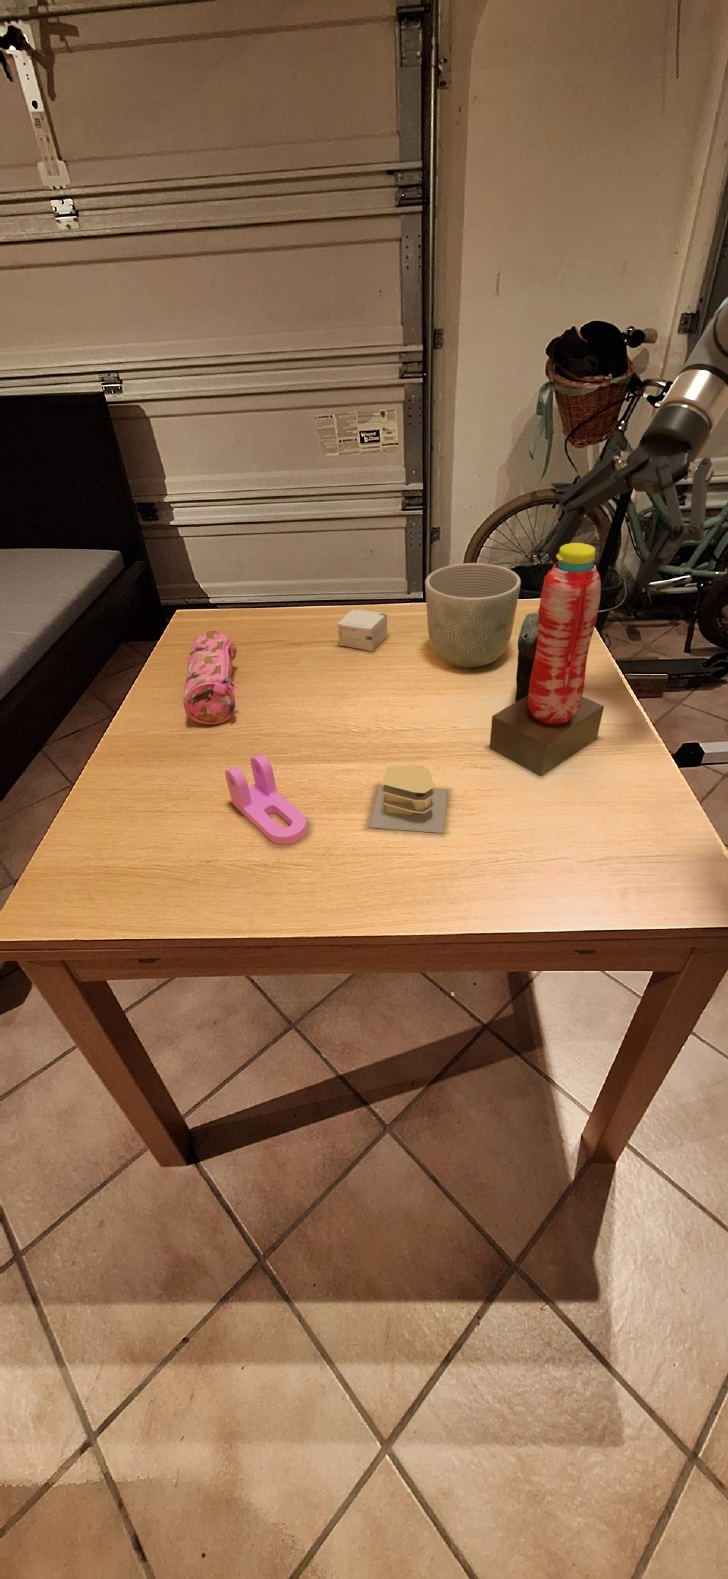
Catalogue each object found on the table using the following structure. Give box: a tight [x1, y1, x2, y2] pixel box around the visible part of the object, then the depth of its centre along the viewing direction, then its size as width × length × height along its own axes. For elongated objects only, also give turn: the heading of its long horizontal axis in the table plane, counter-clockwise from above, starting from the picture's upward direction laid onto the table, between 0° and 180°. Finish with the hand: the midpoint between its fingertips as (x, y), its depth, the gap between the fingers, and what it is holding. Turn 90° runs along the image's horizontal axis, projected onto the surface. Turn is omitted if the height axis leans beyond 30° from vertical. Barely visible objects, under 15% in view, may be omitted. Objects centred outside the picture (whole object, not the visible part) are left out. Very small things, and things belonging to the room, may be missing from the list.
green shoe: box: [514, 608, 539, 703], centre depth 105 cm, size 20×6×20 cm, turn 151°
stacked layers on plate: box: [369, 765, 448, 834], centre depth 87 cm, size 10×9×6 cm
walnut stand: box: [489, 696, 605, 777], centre depth 98 cm, size 10×14×6 cm
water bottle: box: [525, 542, 602, 725], centre depth 88 cm, size 12×8×25 cm, turn 2°
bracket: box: [224, 753, 308, 846], centre depth 87 cm, size 13×6×7 cm, turn 39°
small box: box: [337, 608, 388, 652], centre depth 129 cm, size 8×8×5 cm
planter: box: [424, 562, 522, 668], centre depth 118 cm, size 17×17×15 cm
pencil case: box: [182, 629, 238, 725], centre depth 114 cm, size 21×9×9 cm, turn 10°
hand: (593, 570), depth 84 cm, fingers open, 13 cm apart
